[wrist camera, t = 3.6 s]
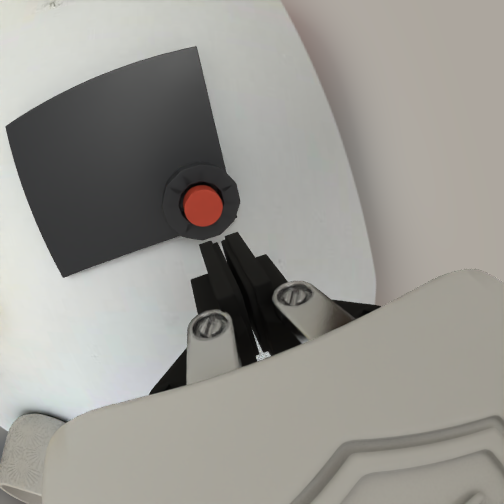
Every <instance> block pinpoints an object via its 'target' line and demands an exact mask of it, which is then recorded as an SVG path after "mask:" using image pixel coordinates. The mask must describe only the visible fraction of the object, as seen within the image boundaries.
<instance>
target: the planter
mask: <svg viewBox="0 0 504 504" xmlns="http://www.w3.org/2000/svg"><path fill="white" fill-rule="evenodd" d="M64 424H65V422H63V421H61V420H58V419H56V418H53V417H50V416H47V415H42V414H26V415H23V416H21V417H19V418H18V419H16V420H15V422H14V423H13V424H12V426H11V427H10V429H9V432H8V435H7V438H6V442H5V446H4V450H3V454H2V459H1V464H0V488H1V489H2V490H3V491H5V492H6V493H8V494H10V495H11V496H13V497H15V498H17V499H19V500H21V501H23V502H25V503H27V504H42V480H43V468H44V461H45V455H46V451H47V447H48V444H49V441H50V439H51V437H52V436H53V434H54V433H55V432H56V431H57V430H58V429H59V428H60V427H61V426H62V425H64Z"/></svg>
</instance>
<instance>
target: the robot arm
mask: <svg viewBox="0 0 504 504" xmlns="http://www.w3.org/2000/svg"><path fill="white" fill-rule="evenodd" d="M221 243H222V246H223V250H224V253H225V257H226V259H225V257H224V255H223V253H222V251H221V249H220V247H219V245H218V243H217V242H216V243H212V241H208V242H205V243H202V244H199V246H200V250H201V253H202V256H203V259H204V262H205V265H206V268H207V271H208V274H206V275H203V276H200V277H197V278H194V279H191V285H192V289H193V294H194V298H195V303H196V307H197V312H198V315H197V316H196V317H195V318H193V319H192V320H191V322H190V324H189V326H188V330H187V348H186V349H185V350H184V352H183V353H182V354H181V355H180V356H179V358H178V359H177V360H176V361H175V363H174V364H173V365H172V366H171V367H170V369H169V370H168V371H167V372H166V373H165V375H164V376H163V377H162V378H161V379H160V380H159V382H158V383H157V384H156V385H155V386H154V388H153V389H152V390H151V392H150V394H149V395H148V396H144V397H139V398H135V399H132V400H128V401H124V402H120V403H116V404H112V405H108V406H104V407H101V408H97V409H94V410H91V411H89V412H86V413H84V414H81V415H79V416H77V417H75V418H74V419H72V420H70V421H68V422H67V423H65V424H64V425H62V426H61V427H60V428H59V429H58V430H57V431H56V432H55V433H54V434H53V436H52V437H51V439H50V441H49V444H48V447H47V451H46V455H45V461H44V468H43V480H42V504H504V282H502V281H501V280H499V279H497V278H496V277H494V276H492V275H490V274H488V273H487V272H484V271H482V270H478V269H464V270H459V271H454V272H451V273H447V274H444V275H442V276H439V277H437V278H435V279H432V280H431V281H429V282H427V283H425V284H423V285H421V286H419V287H417V288H416V289H414V290H412V291H410V292H408V293H406V294H404V295H403V296H401V297H399V298H397V299H395V300H393V301H391V302H390V303H388V304H386V305H384V306H382V307H381V306H377V305H371V304H362V303H354V302H346V301H338V300H331V299H330V298H328V297H327V296H326V295H325V294H323V293H322V292H321V291H320V290H318V289H317V288H316V287H314V286H313V285H312V284H310V283H308V282H304V281H291V282H287V280H286V279H285V278H284V276H283V275H282V274H281V273H280V271H279V270H278V269H277V267H276V266H275V265H274V264H273V262H272V261H271V260H270V258H269V257H268V256H267V255H266V254H265V255H262V256H259V257H256V258H255V256H254V255H253V254H252V252H251V251H250V249H249V248H248V246H247V245H246V243H245V242H244V241H243V239H242V238H241V236H240V235H239V233H238V232H236V233H233V234H230V235H227V236H225V240H222V241H221ZM226 260H227V262H226ZM252 330H253V331H252ZM253 332H254V334H255V336H256V338H257V340H258V342H259V345H260V347H261V349H262V351H263V353H264V352H267V351H269V353H270V355H271V357H268V358H265V359H263V360H260V361H257V359H256V355H259V351H258V348H257V344H256V341H255V338H254V334H253Z"/></svg>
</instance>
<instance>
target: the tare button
mask: <svg viewBox="0 0 504 504" xmlns="http://www.w3.org/2000/svg"><path fill="white" fill-rule="evenodd" d="M183 207H184V212H185V215H186V217H187V219H188V220H189V221H190V222H191V223H192V224H194V225H196V226H201V227H204V226H209V225H211V224H213V223H215V222H216V221H217V220H218V219H219V217H220V216H221V214H222V210H223V204H222V201H221V199H220V197H219V196H218V194H217V193H216V191H215V190H214V189H213V188H211V187H209V186H206V185H197V186H194V187H192V188H191V189H190V190H188V192H187V193H186V194H185V196H184V199H183Z"/></svg>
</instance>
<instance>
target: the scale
mask: <svg viewBox="0 0 504 504" xmlns="http://www.w3.org/2000/svg"><path fill="white" fill-rule="evenodd" d="M6 131H7V136H8V140H9V144H10V148H11V151H12V155H13V159H14V162H15V165H16V169H17V172H18V175H19V178H20V181H21V184H22V187H23V190H24V193H25V195H26V198H27V201H28V203H29V206H30V208H31V211H32V213H33V216H34V218H35V221H36V223H37V225H38V228H39V230H40V232H41V235H42V237H43V239H44V241H45V243H46V245H47V247H48V249H49V252H50V254H51V256H52V258H53V260H54V262H55V263H56V265H57V267H58V269H59V271H60V273H61V275H62V277H63V278H64V277H67V276H69V275H72V274H74V273H77V272H80V271H82V270H85V269H88V268H90V267H93V266H96V265H98V264H101V263H104V262H107V261H109V260H112V259H115V258H118V257H120V256H123V255H126V254H129V253H132V252H134V251H137V250H140V249H143V248H146V247H149V246H152V245H154V244H157V243H160V242H163V241H166V240H169V239H172V238H175V237H178V236H182V237H186V238H191V239H197V240H205V239H208V238H211V237H214V236H217V235H220V234H222V233H223V232H224V231H225V230H226V229H227V228H228V227H229V226H230V225H231V224H232V223H233V222H234V220H235V218H237V211H238V208H239V204H240V198H239V193H238V189H237V185H236V183H235V181H234V180H233V179H232V178H231V177H230V176H229V175H228V174H227V173H226V169H225V165H224V161H223V156H222V152H221V148H220V144H219V140H218V136H217V131H216V127H215V123H214V119H213V114H212V110H211V106H210V102H209V97H208V93H207V89H206V85H205V80H204V76H203V72H202V68H201V63H200V59H199V55H198V50H197V47H196V46H195V47H191V48H186V49H182V50H178V51H174V52H170V53H166V54H162V55H158V56H155V57H151V58H148V59H145V60H142V61H138V62H135V63H132V64H129V65H126V66H124V67H121V68H118V69H115V70H113V71H110V72H108V73H105V74H102V75H100V76H98V77H95V78H93V79H90V80H88V81H86V82H84V83H81V84H79V85H77V86H75V87H73V88H71V89H69V90H67V91H65V92H63V93H61V94H59V95H57V96H55V97H53V98H51V99H49V100H47V101H46V102H44V103H42V104H40V105H39V106H37V107H35V108H33V109H32V110H30V111H28V112H27V113H25V114H24V115H22V116H20V117H19V118H17V119H16V120H14V121H13V122H11V123H10V124H8V125H7V126H6ZM197 185H206V186H209V187H211V188H213V189H214V190H215V191H216V193H217V194H218V196H219V197H220V199H221V201H222V204H223V210H222V214H221V216H220V217H219V219H218V220H217V221H216V222H215V223H213V224H211V225H209V226H204V227H201V226H196V225H194V224H192V223H191V222H190V221H189V220H188V219H187V217H186V215H185V212H184V207H183V199H184V196H185V194H186V193H187V192H188V190H190V189H191V188H192V187H194V186H197Z"/></svg>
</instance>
